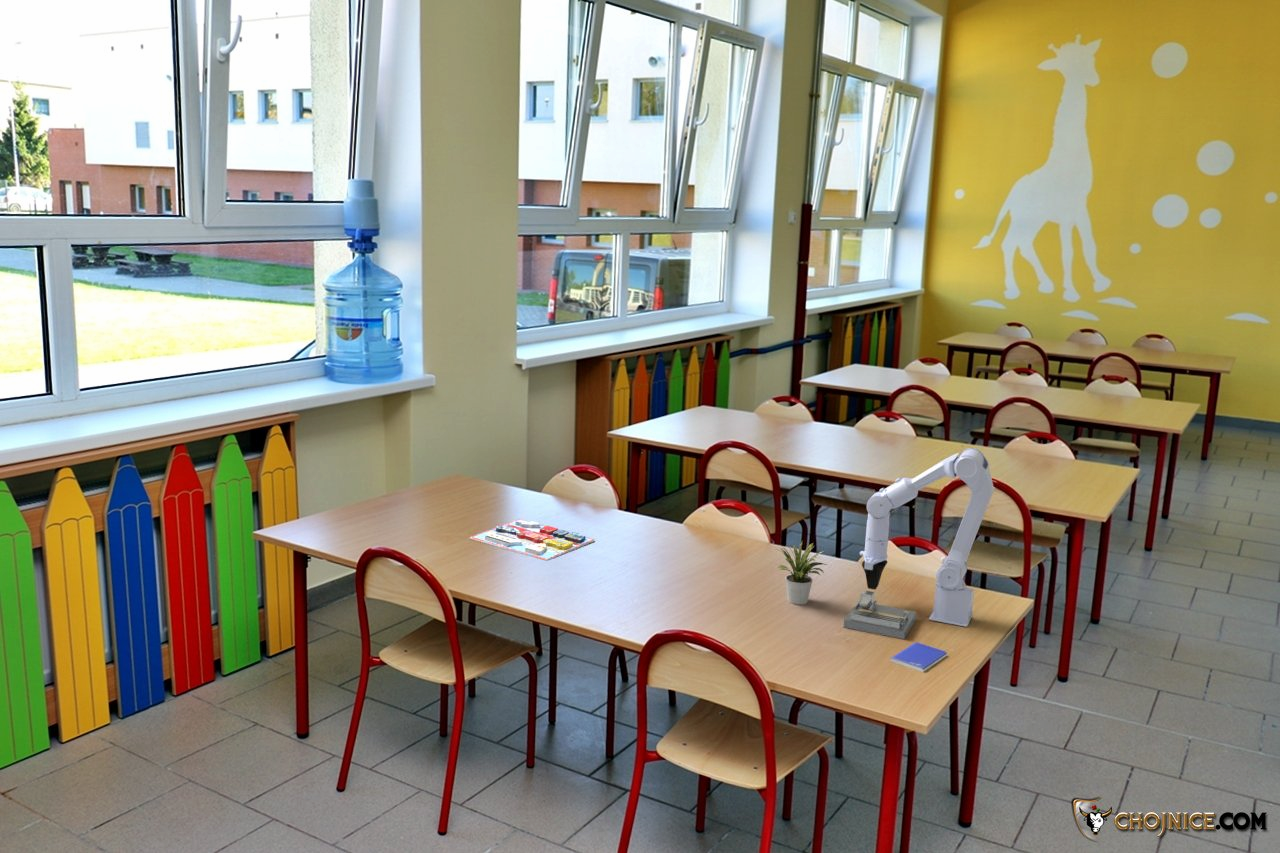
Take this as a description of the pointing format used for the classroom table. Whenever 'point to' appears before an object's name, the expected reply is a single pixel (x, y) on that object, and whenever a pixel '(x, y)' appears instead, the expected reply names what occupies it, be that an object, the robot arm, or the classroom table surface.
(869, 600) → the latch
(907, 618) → the grey slotted fixture base
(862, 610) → the tan rectangular plate
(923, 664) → the hard drive
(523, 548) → the puzzle board
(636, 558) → the classroom table surface
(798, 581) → the house plant
